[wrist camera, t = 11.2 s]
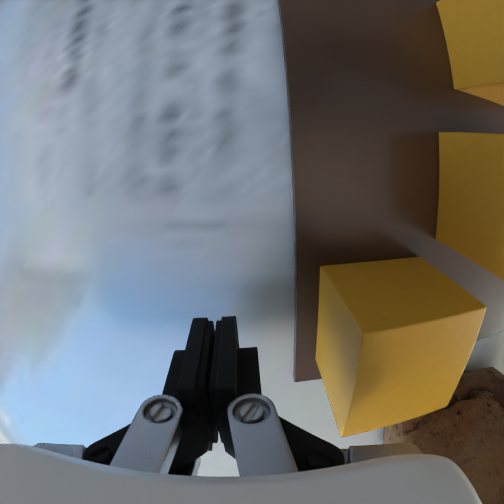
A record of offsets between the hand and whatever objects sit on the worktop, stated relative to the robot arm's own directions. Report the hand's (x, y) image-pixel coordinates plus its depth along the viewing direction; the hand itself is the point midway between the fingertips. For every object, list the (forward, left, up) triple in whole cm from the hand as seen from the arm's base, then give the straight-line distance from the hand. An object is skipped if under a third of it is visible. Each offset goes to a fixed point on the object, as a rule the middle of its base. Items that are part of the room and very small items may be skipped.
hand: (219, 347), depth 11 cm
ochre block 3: (-6, +13, -2) cm, 14 cm away
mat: (-8, +13, -2) cm, 16 cm away
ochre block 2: (-13, +14, -2) cm, 19 cm away
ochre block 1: (0, +7, -2) cm, 7 cm away
